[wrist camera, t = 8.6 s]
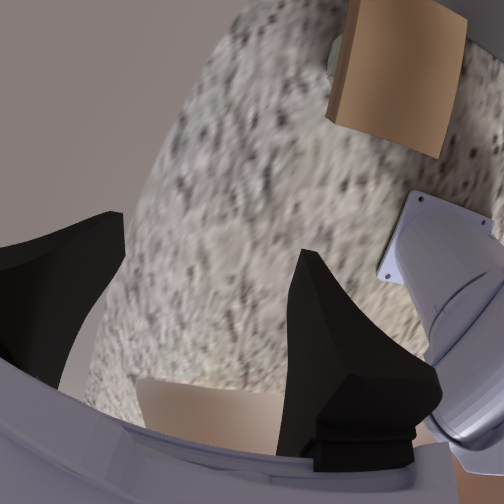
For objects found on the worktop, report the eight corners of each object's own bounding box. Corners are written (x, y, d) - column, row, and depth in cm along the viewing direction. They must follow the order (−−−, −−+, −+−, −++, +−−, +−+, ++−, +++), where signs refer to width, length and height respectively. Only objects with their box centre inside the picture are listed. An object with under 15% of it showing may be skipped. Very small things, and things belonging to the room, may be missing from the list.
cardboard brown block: (437, 27, 10) (467, 20, 8) (412, 144, 15) (438, 159, 12) (350, -8, 10) (365, -28, 8) (325, 116, 15) (335, 124, 12)
